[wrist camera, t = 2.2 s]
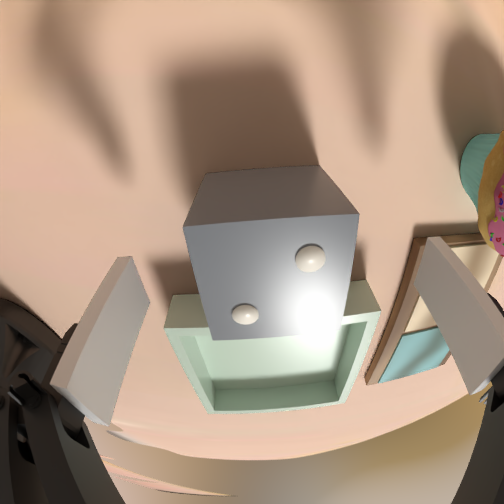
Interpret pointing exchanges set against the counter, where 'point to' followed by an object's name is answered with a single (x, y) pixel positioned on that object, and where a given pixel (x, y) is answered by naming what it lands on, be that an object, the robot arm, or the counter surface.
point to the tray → (272, 359)
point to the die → (271, 251)
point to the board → (425, 313)
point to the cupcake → (486, 185)
